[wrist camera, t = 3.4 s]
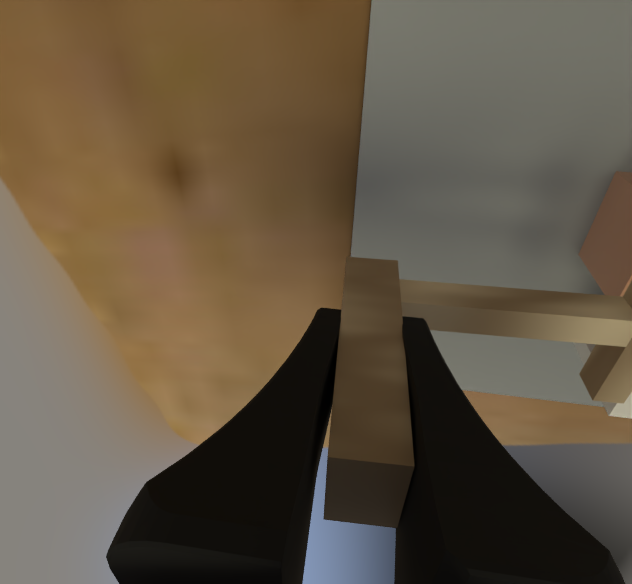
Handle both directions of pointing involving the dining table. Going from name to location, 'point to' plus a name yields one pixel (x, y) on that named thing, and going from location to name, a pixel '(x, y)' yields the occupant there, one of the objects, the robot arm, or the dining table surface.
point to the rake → (391, 372)
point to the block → (611, 238)
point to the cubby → (495, 162)
